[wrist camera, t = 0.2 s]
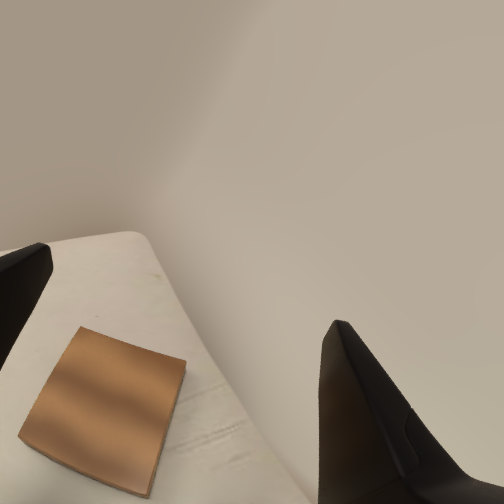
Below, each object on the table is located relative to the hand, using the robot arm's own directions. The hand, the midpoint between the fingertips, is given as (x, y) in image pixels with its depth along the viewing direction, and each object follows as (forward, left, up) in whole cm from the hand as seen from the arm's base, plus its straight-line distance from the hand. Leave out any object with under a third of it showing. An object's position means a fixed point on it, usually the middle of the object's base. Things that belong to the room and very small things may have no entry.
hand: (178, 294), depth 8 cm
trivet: (+3, +6, -17) cm, 18 cm away
